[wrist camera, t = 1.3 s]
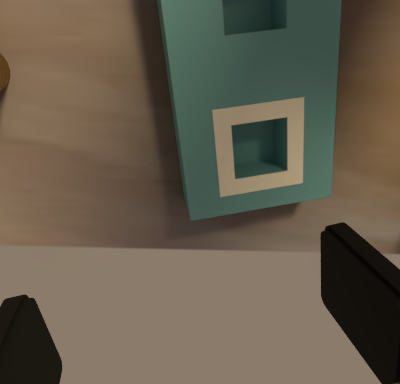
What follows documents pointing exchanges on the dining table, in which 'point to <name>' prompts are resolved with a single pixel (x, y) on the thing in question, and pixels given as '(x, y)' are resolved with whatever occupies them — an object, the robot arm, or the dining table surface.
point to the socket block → (252, 100)
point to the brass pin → (4, 73)
